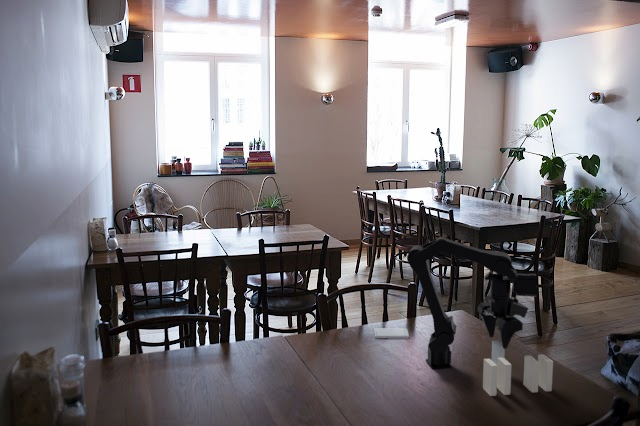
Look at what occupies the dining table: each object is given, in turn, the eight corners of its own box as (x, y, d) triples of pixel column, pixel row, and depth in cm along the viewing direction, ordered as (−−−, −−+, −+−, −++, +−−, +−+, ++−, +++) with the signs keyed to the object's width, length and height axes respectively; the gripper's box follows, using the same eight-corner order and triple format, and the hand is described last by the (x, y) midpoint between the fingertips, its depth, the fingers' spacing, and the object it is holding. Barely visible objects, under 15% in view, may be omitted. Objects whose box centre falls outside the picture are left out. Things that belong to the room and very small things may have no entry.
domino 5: (545, 391, 160) (547, 361, 158) (536, 383, 165) (538, 354, 163) (551, 390, 160) (553, 361, 159) (542, 383, 165) (543, 354, 163)
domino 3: (504, 394, 158) (505, 365, 157) (496, 386, 163) (497, 357, 161) (510, 394, 158) (511, 364, 157) (502, 386, 163) (503, 357, 162)
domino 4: (532, 392, 159) (533, 362, 158) (523, 384, 164) (524, 355, 163) (537, 392, 159) (539, 362, 158) (529, 384, 164) (530, 355, 163)
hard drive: (374, 335, 201) (409, 335, 200) (373, 327, 209) (406, 327, 208) (374, 340, 201) (409, 340, 200) (373, 331, 209) (406, 331, 209)
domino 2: (498, 374, 171) (499, 346, 169) (491, 367, 176) (492, 340, 174) (503, 374, 171) (504, 346, 170) (496, 367, 176) (497, 340, 174)
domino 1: (490, 396, 157) (491, 366, 156) (482, 388, 162) (483, 358, 161) (496, 395, 158) (497, 365, 156) (488, 387, 163) (489, 358, 161)
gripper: (541, 302, 161) (538, 353, 164) (510, 284, 180) (508, 330, 182) (504, 304, 160) (502, 355, 162) (477, 285, 178) (476, 332, 181)
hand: (498, 342), depth 172 cm, fingers open, 9 cm apart
